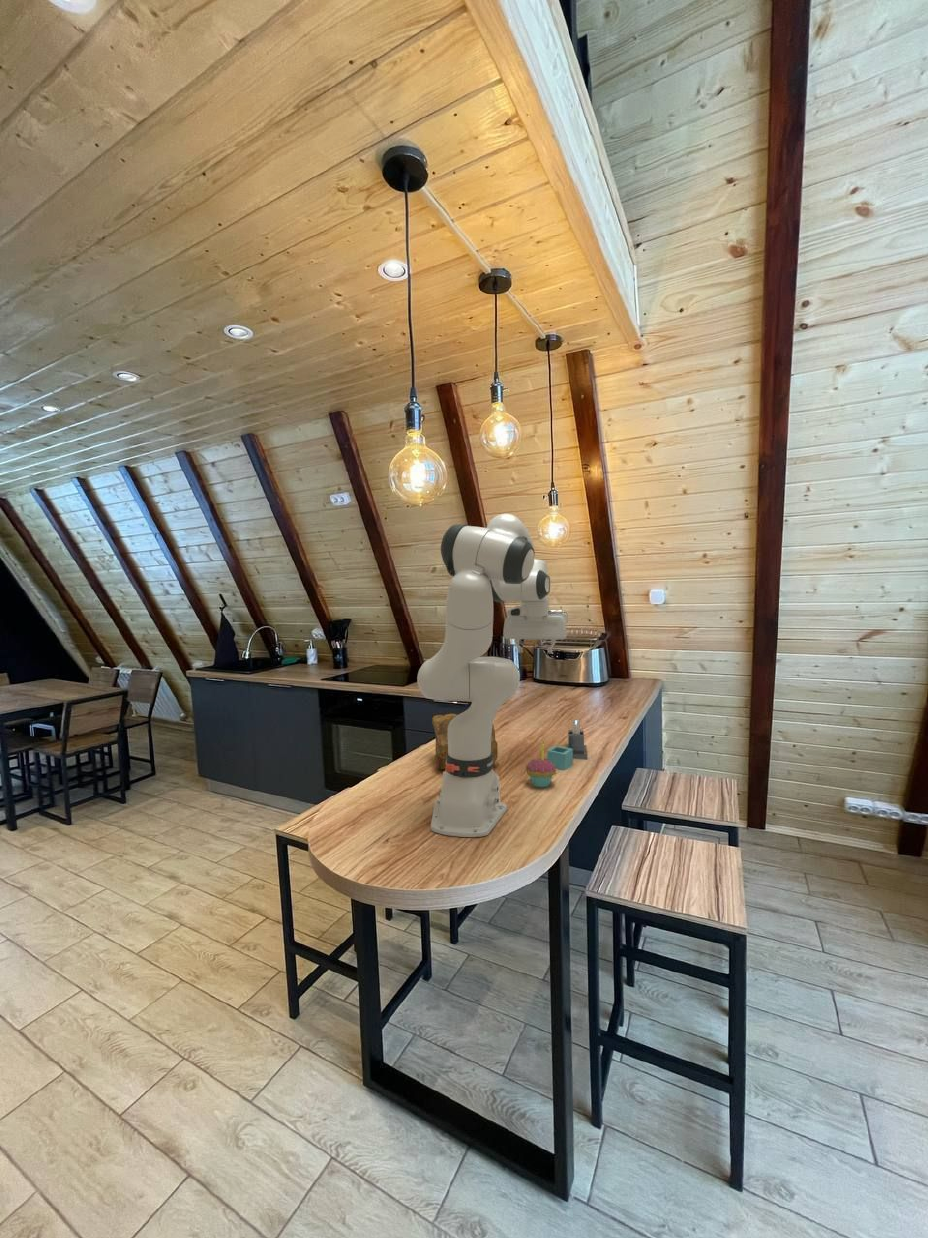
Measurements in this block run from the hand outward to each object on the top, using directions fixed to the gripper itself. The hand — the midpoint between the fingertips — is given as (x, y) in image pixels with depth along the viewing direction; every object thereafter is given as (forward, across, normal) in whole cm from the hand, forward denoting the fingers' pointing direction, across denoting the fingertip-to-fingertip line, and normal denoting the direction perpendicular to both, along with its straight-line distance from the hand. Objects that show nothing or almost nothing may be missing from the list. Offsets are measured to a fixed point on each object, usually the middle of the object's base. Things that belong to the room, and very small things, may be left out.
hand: (535, 653), depth 158 cm
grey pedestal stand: (+35, -13, -9) cm, 39 cm away
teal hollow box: (+35, -8, +4) cm, 36 cm away
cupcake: (+35, -3, +20) cm, 41 cm away
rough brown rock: (+35, +24, +10) cm, 44 cm away
